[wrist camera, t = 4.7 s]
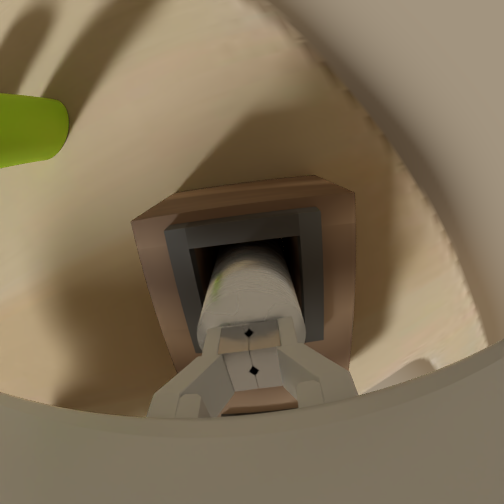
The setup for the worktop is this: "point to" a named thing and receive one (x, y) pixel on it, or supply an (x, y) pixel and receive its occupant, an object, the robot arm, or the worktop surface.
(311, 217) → the walnut block
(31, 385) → the worktop surface
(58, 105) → the soap dispenser
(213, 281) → the steel peg
